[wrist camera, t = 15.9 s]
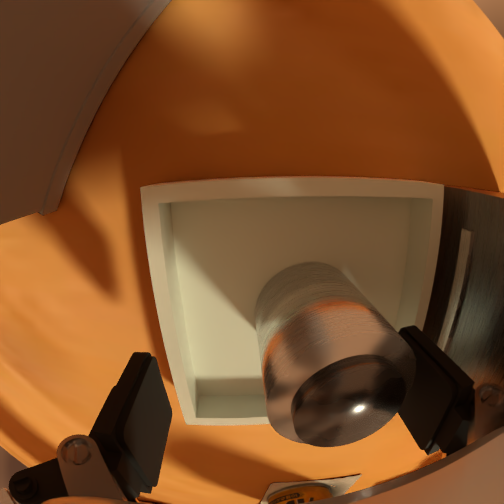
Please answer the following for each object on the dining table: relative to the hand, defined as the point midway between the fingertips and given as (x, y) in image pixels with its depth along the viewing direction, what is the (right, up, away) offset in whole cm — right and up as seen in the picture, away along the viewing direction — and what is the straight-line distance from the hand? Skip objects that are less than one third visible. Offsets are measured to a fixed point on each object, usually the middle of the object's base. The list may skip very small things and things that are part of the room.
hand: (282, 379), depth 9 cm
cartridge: (+1, +2, +3) cm, 4 cm away
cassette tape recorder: (-9, +14, 0) cm, 16 cm away
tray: (+1, +2, +3) cm, 4 cm away
